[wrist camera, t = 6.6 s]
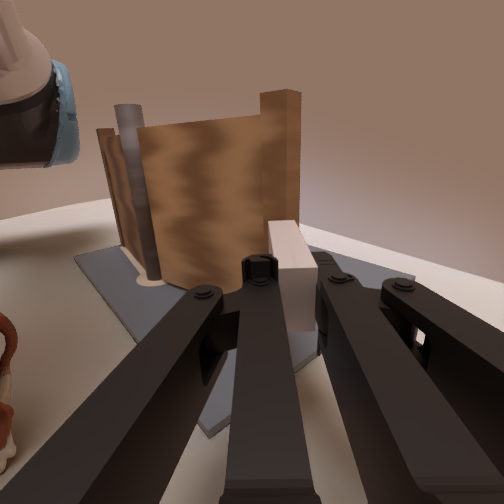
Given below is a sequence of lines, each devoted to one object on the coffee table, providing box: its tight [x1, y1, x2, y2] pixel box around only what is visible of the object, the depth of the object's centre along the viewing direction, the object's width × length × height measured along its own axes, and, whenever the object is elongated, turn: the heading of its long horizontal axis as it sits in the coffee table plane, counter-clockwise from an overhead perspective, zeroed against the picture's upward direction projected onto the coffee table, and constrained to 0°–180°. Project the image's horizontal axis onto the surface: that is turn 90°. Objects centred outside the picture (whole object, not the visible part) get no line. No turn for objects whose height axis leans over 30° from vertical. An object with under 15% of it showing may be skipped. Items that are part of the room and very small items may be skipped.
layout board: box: [74, 245, 416, 438], centre depth 30 cm, size 30×22×1 cm
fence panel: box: [136, 89, 301, 294], centre depth 21 cm, size 13×2×14 cm, turn 55°
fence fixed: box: [96, 104, 162, 281], centre depth 30 cm, size 14×2×16 cm, turn 35°
